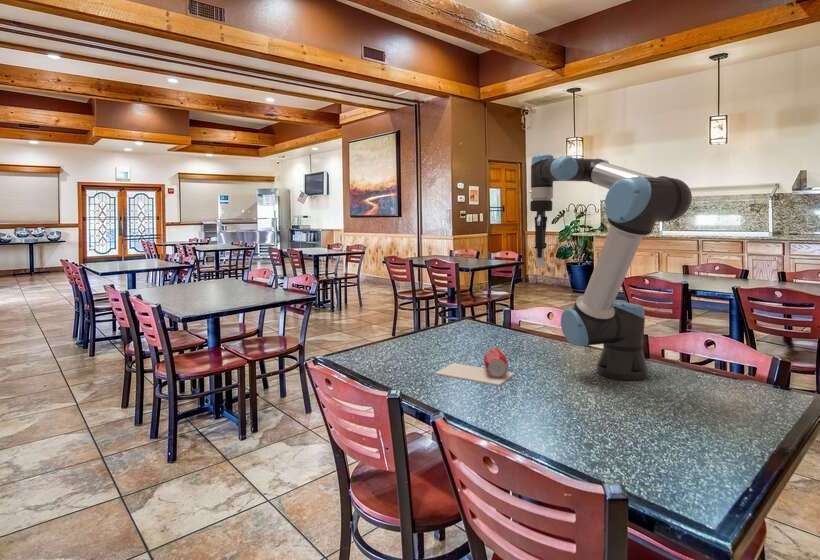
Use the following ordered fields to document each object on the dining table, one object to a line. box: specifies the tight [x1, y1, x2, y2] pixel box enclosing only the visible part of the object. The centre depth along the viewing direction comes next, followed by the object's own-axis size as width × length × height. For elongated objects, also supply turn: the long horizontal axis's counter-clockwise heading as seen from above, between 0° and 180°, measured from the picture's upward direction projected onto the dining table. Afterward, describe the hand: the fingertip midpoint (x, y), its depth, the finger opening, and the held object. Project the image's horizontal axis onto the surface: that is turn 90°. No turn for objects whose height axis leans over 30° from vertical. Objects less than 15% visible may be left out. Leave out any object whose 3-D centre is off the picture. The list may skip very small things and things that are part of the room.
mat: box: [434, 362, 515, 387], centre depth 161 cm, size 22×13×1 cm, turn 58°
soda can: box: [483, 347, 509, 378], centre depth 160 cm, size 7×7×12 cm
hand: (539, 266), depth 180 cm, fingers closed
